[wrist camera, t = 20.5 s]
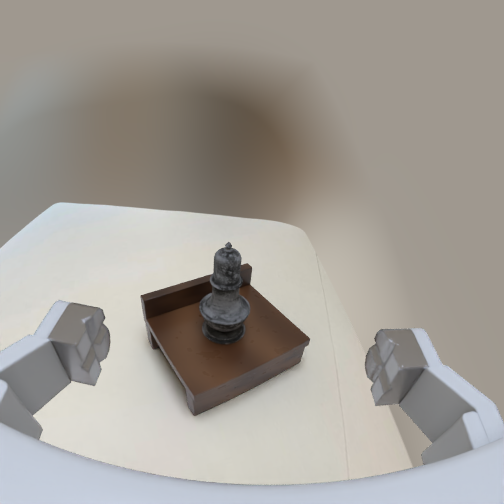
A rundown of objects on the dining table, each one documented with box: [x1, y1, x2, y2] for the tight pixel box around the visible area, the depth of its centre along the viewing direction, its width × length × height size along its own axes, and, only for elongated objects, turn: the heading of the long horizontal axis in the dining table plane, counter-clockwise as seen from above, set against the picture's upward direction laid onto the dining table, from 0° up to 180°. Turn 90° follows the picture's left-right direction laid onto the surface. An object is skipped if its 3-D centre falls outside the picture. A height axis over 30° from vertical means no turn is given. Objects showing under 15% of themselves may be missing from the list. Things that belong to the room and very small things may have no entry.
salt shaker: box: [199, 242, 250, 344], centre depth 34 cm, size 6×6×12 cm
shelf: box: [141, 263, 310, 416], centre depth 38 cm, size 16×14×8 cm
